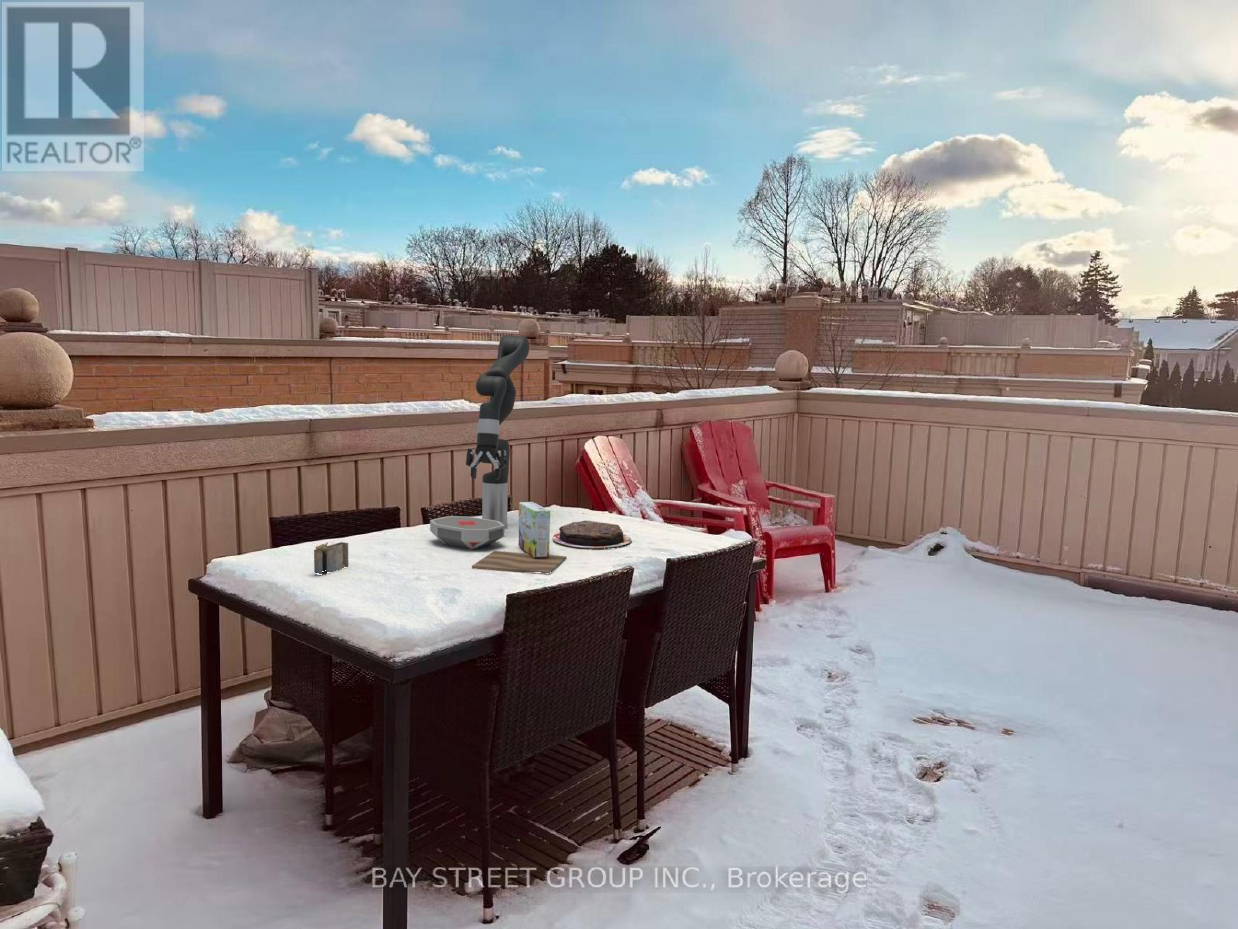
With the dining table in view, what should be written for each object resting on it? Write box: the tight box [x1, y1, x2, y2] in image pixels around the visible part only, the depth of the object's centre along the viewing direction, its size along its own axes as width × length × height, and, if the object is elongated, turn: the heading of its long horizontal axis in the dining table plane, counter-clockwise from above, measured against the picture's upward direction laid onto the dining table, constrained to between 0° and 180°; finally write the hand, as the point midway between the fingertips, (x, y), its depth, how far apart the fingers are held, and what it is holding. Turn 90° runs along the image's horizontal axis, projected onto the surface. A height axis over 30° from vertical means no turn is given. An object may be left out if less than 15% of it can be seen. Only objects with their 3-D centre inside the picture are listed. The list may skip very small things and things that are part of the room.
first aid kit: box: [429, 515, 506, 550], centre depth 268 cm, size 18×8×25 cm
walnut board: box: [471, 550, 567, 573], centre depth 245 cm, size 20×24×1 cm
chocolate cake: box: [551, 520, 632, 550], centre depth 279 cm, size 28×28×7 cm
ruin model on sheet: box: [313, 541, 350, 575], centre depth 229 cm, size 11×3×10 cm, turn 160°
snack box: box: [518, 501, 551, 558], centre depth 257 cm, size 21×6×15 cm, turn 21°
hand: (485, 479), depth 276 cm, fingers open, 8 cm apart
